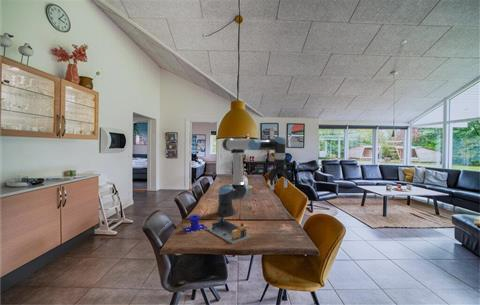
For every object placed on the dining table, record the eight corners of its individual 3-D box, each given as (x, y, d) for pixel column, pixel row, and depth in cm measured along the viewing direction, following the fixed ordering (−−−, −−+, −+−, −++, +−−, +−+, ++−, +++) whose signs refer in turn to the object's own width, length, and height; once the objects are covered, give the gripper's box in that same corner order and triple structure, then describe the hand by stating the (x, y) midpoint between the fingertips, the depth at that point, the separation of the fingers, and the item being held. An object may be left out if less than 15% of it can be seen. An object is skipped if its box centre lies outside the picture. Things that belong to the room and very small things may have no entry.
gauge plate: (206, 229, 145) (206, 219, 145) (222, 224, 154) (222, 215, 154) (232, 244, 124) (232, 232, 124) (249, 237, 134) (249, 226, 133)
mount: (202, 225, 153) (202, 213, 153) (206, 228, 147) (207, 216, 146) (182, 229, 144) (182, 217, 144) (186, 233, 138) (186, 220, 138)
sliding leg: (230, 237, 129) (230, 225, 129) (243, 232, 136) (243, 221, 136) (234, 239, 127) (234, 227, 127) (246, 234, 134) (246, 223, 134)
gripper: (270, 159, 139) (270, 191, 140) (295, 158, 153) (294, 187, 154) (263, 159, 145) (262, 189, 146) (287, 158, 159) (286, 185, 160)
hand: (279, 188), depth 150 cm, fingers open, 13 cm apart
